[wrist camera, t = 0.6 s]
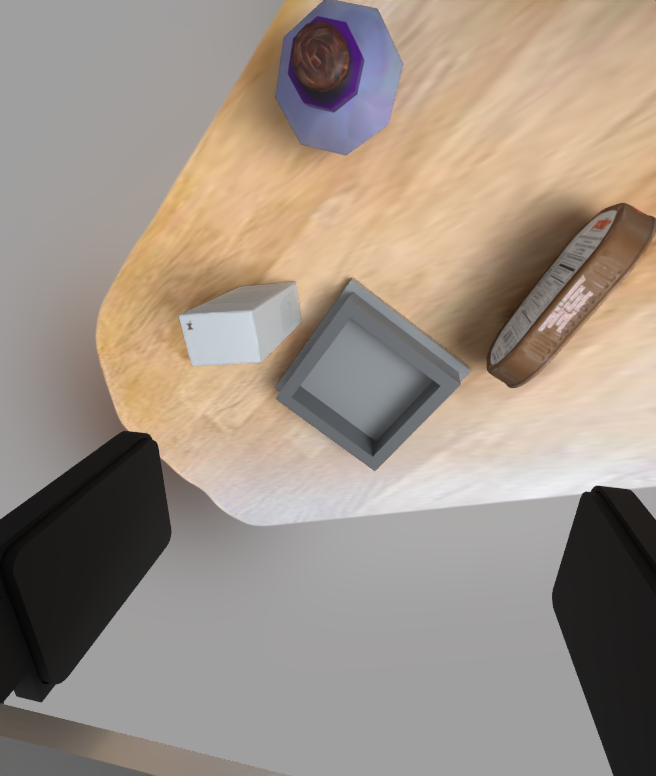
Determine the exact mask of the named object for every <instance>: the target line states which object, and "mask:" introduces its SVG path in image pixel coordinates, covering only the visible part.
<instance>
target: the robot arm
mask: <svg viewBox="0 0 656 776" xmlns="http://www.w3.org/2000/svg"><path fill="white" fill-rule="evenodd" d="M170 538H171V525H170V519H169V512H168V505H167V500H166V493H165V487H164V480H163V474H162V468H161V461H160V455H159V448H158V444H157V443H156V441H154V440H152V437H151V436H150V435H149V434H147V433H139V432H130V431H123V432H121V433H119V434H118V435H116V436H115V437H114V438H112V439H111V440H109V441H108V442H107V443H105V444H104V445H102V446H101V447H100V448H99V449H97V450H96V451H94V452H93V453H91V454H90V455H89V456H87V457H86V458H85V459H83V460H82V461H80V462H79V463H78V464H76V465H75V466H73V467H72V468H71V469H69V470H68V471H67V472H65V473H64V474H63V475H61V476H60V477H58V478H57V479H56V480H54V481H53V482H51V483H50V484H49V485H47V486H46V487H44V488H43V489H42V490H40V491H39V492H38V493H36V494H35V495H33V496H32V497H31V498H29V499H28V500H27V501H25V502H24V503H22V504H21V505H20V506H18V507H17V508H15V509H14V510H13V511H11V512H10V513H9V514H7V515H6V516H5V517H3V518H2V519H0V776H289V775H285V774H281V773H277V772H273V771H269V770H266V769H262V768H257V767H254V766H250V765H246V764H242V763H238V762H234V761H230V760H226V759H222V758H218V757H214V756H210V755H206V754H202V753H198V752H194V751H190V750H186V749H182V748H178V747H174V746H170V745H167V744H163V743H159V742H155V741H150V740H147V739H143V738H138V737H134V736H130V735H126V734H122V733H118V732H114V731H110V730H106V729H102V728H97V727H93V726H90V725H85V724H82V723H77V722H73V721H69V720H65V719H61V718H57V717H53V716H48V715H45V714H41V713H37V712H33V711H29V710H24V709H20V708H16V707H12V706H8V705H4V701H5V699H6V698H7V697H8V696H9V695H10V693H11V692H12V691H13V690H14V692H15V694H16V696H18V697H21V698H25V699H29V700H34V701H38V702H42V701H43V700H44V699H45V698H46V696H47V695H48V694H49V692H50V691H51V690H52V688H53V687H54V686H55V685H56V684H59V683H62V682H63V681H64V680H65V679H66V678H67V677H68V676H69V675H70V674H71V672H72V671H73V670H74V668H75V667H76V666H77V664H78V663H79V661H80V660H81V659H82V658H83V656H84V655H85V654H86V652H87V651H88V650H89V648H90V647H91V646H92V644H93V643H94V642H95V640H96V639H97V638H98V636H99V635H100V634H101V633H102V631H103V630H104V629H105V627H106V626H107V625H108V623H109V622H110V621H111V619H112V618H113V617H114V615H115V614H116V612H117V611H118V610H119V609H120V607H121V606H122V605H123V603H124V602H125V601H126V600H127V598H128V597H129V596H130V594H131V593H132V592H133V590H134V589H135V588H136V586H137V585H138V584H139V582H140V581H141V580H142V578H143V577H144V576H145V574H146V573H147V572H148V570H149V569H150V568H151V566H152V565H153V564H154V563H155V561H156V560H157V559H158V557H159V556H160V555H161V553H162V552H163V551H164V549H165V548H166V547H167V545H168V543H169V541H170ZM552 601H553V608H554V611H555V614H556V617H557V620H558V622H559V625H560V628H561V631H562V634H563V637H564V639H565V642H566V645H567V648H568V650H569V653H570V656H571V659H572V662H573V664H574V667H575V670H576V672H577V675H578V678H579V681H580V684H581V686H582V689H583V692H584V695H585V698H586V700H587V703H588V706H589V709H590V711H591V714H592V717H593V720H594V723H595V725H596V728H597V731H598V734H599V737H600V739H601V741H602V745H603V747H604V750H605V753H606V756H607V759H608V762H609V764H610V767H611V770H612V773H613V775H614V776H656V520H655V519H654V517H653V516H652V515H651V514H650V512H649V511H648V510H647V509H646V507H645V506H644V505H643V504H642V502H641V501H640V500H639V499H638V497H637V496H636V495H635V494H634V493H633V492H632V491H631V490H628V489H622V488H613V487H604V486H595V487H594V488H593V489H592V490H591V492H584V493H583V494H582V496H581V498H580V501H579V505H578V508H577V511H576V515H575V518H574V521H573V525H572V528H571V531H570V535H569V538H568V541H567V545H566V548H565V551H564V555H563V558H562V561H561V564H560V568H559V571H558V575H557V578H556V581H555V585H554V588H553V592H552Z"/></svg>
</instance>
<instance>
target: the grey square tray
mask: <svg viewBox="0 0 656 776" xmlns="http://www.w3.org/2000/svg"><path fill="white" fill-rule="evenodd" d="M470 372H471V368H470V367H469V366H468V365H466V364H465V363H464V362H463V361H461V360H460V359H459V358H457V357H456V356H455V355H453V354H452V353H451V352H449V351H448V350H447V349H446V348H444V347H443V346H442V345H440V344H439V343H438V342H436V341H435V340H434V339H432V338H431V337H430V336H429V335H427V334H426V333H425V332H423V331H422V330H421V329H419V328H418V327H417V326H415V325H414V324H413V323H412V322H410V321H409V320H408V319H406V318H405V317H404V316H402V315H401V314H400V313H399V312H397V311H396V310H395V309H393V308H392V307H391V306H389V305H388V304H387V303H385V302H384V301H383V300H382V299H380V298H379V297H378V296H376V295H375V294H374V293H372V292H371V291H370V290H368V289H367V288H366V287H365V286H363V285H362V284H361V283H359V282H358V281H357V280H355V279H354V278H353V279H352V280H351V281H350V282H349V284H348V285H347V287H346V288H345V289H344V291H343V292H342V294H341V295H340V296H339V298H338V299H337V301H336V302H335V304H334V305H333V306H332V308H331V309H330V311H329V312H328V313H327V315H326V316H325V318H324V319H323V320H322V322H321V323H320V325H319V326H318V327H317V329H316V330H315V332H314V333H313V334H312V336H311V337H310V339H309V340H308V342H307V343H306V344H305V346H304V347H303V349H302V350H301V351H300V353H299V354H298V356H297V357H296V358H295V360H294V361H293V363H292V364H291V365H290V367H289V368H288V370H287V371H286V373H285V374H284V375H283V377H282V378H281V380H280V381H279V382H278V384H277V385H276V387H275V388H276V389H277V390H279V391H280V393H279V394H278V396H277V397H276V398H275V399H277V400H278V401H279V402H281V403H282V404H283V405H285V406H286V407H288V408H289V409H290V410H292V411H293V412H294V413H296V414H297V415H298V416H300V417H301V418H303V419H304V420H305V421H307V422H308V423H309V424H311V425H312V426H314V427H315V428H316V429H318V430H319V431H320V432H322V433H323V434H325V435H326V436H327V437H329V438H330V439H331V440H333V441H334V442H336V443H337V444H338V445H340V446H341V447H342V448H344V449H345V450H347V451H348V452H349V453H351V454H352V455H353V456H355V457H356V458H357V459H359V460H360V461H362V462H363V463H364V464H366V465H367V466H368V467H370V468H371V469H373V470H374V471H376V470H377V469H378V468H379V467H380V466H381V465H382V464H383V463H384V462H385V461H386V460H387V459H388V458H389V457H390V456H391V455H392V454H393V453H394V452H395V451H396V450H397V449H398V447H399V446H400V445H401V444H402V443H403V442H404V441H405V440H406V439H407V438H408V437H409V436H410V435H411V434H412V433H413V432H414V431H415V430H416V429H417V428H418V427H419V426H420V425H421V424H422V423H423V422H424V421H425V420H426V419H427V418H428V417H429V416H430V415H431V414H432V413H433V412H434V411H435V410H436V409H437V408H438V407H439V406H440V405H441V404H442V403H443V402H444V401H445V400H446V399H447V398H448V397H449V396H450V395H451V394H452V393H453V392H454V391H455V390H456V389H457V388H458V387H459V386H460V385H461V383H460V382H461V381H462V380H463V379H464V378H465V377H466V376H467V375H468V374H469V373H470Z"/></svg>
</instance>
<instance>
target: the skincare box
mask: <svg viewBox="0 0 656 776" xmlns="http://www.w3.org/2000/svg"><path fill="white" fill-rule="evenodd" d="M178 317H179V320H180V324H181V327H182V331H183V335H184V339H185V343H186V346H187V350H188V354H189V358H190V361H191V364H192V366H209V365H228V364H246V363H261V362H262V361H263V360H264V359H265V358H266V357H267V356H268V355H269V354H270V353H271V352H272V351H273V350H274V349H275V348H276V347H277V346H278V345H279V344H280V343H281V342H282V341H283V340H284V339H285V338H286V337H287V336H288V335H289V334H290V333H291V332H292V331H294V330H295V329H296V328H297V327H298V326H299V325H300V324H301V322H302V319H301V313H300V306H299V299H298V291H297V284H296V282H286V283H275V284H263V285H252V286H241V287H238V288H236V289H234V290H232V291H230V292H227V293H225V294H223V295H221V296H219V297H217V298H214V299H212V300H210V301H208V302H206V303H203V304H201V305H199V306H197V307H195V308H192V309H190V310H188V311H186V312H184V313H182V314H180V315H179V316H178Z"/></svg>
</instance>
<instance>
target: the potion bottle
mask: <svg viewBox="0 0 656 776" xmlns="http://www.w3.org/2000/svg"><path fill="white" fill-rule="evenodd" d="M402 67H403V62H402V60H401V58H400V55H399V53H398V51H397V49H396V47H395V45H394V43H393V40H392V38H391V36H390V34H389V32H388V30H387V28H386V25H385V23H384V21H383V19H382V17H381V15H380V13H379V11H378V9H376V8H371V7H366V6H362V5H357V4H352V3H347V2H342V1H338V0H323V1H322V2H321V3H320V4H319V5H318V6H317V7H316V8H315V9H314V10H313V11H312V12H311V13H309V14H308V15H307V16H306V17H305V18H304V19H303V20H302V21H301V22H300V23H299V24H298V25H297V26H295V27H294V28H293V29H292V30H291V31H290V32H289V33H288V34H287V35H286V36H285V37H284V39H283V46H282V53H281V61H280V68H279V75H278V82H277V89H276V96H275V98H276V100H277V102H278V103H279V105H280V107H281V109H282V111H283V113H284V114H285V116H286V118H287V120H288V122H289V123H290V125H291V127H292V129H293V131H294V133H295V134H296V136H297V138H298V140H299V142H300V143H301V144H302V145H306V146H310V147H314V148H318V149H322V150H326V151H330V152H334V153H338V154H342V155H347V154H349V153H350V152H352V151H353V150H354V149H356V148H357V147H358V146H360V145H361V144H362V143H364V142H365V141H366V140H368V139H369V138H371V137H372V136H373V135H375V134H376V133H377V132H379V131H380V130H381V129H383V128H384V127H385V126H387V125H388V124H389V120H390V116H391V112H392V108H393V104H394V100H395V96H396V91H397V87H398V83H399V79H400V75H401V71H402Z"/></svg>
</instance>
